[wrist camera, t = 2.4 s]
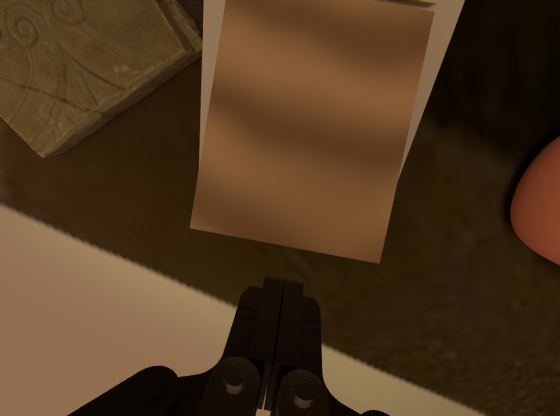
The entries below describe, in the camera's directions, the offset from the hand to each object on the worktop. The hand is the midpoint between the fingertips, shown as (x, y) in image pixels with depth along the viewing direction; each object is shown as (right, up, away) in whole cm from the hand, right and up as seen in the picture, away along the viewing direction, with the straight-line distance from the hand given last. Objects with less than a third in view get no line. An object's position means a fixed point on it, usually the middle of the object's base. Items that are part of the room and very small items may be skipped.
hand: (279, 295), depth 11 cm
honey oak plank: (+2, +9, +7) cm, 11 cm away
